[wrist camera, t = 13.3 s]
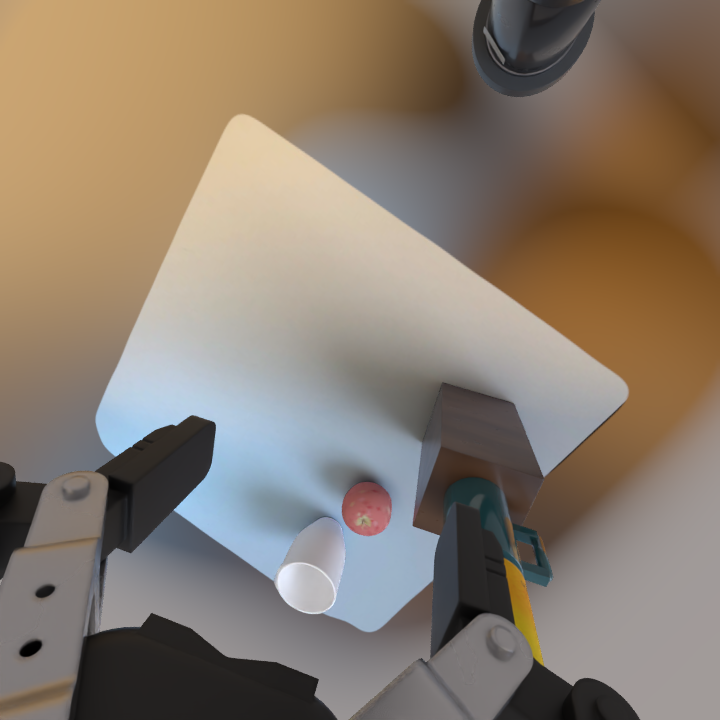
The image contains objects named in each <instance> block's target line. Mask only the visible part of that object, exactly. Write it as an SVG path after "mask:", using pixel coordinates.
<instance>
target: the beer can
mask: <svg viewBox="0 0 720 720" xmlns="http://www.w3.org/2000/svg"><path fill="white" fill-rule="evenodd" d="M504 565H505V568H506V574H507V575H506V578H507V579H508V585H509V591H510V597H511V603H512V609H513V615H514V620H515V626H516V627H517V628H518V629H519V630H520V631H521V632H522V634H523V635H524V636H525V638H526V639H527V641H528V643H529V645H530V647H531V650H532V654H533V657H534V658H535V659H536V660H537V661H538V662H539V663H540V664H541V665H543V666H544V663H543V658H542V654H541V650H540V645H539V641H538V636H537V632H536V628H535V623H534V619H533V614H532V610H531V605H530V601H529V597H528V592H527V588H526V584H525V579H524V577H523V575H522V573H521V572H520V570H519V569H518V568H517V567H516V566H515V565H514V564H513V563H512V562H510V561H509V560H507V559H505V558H504Z"/></svg>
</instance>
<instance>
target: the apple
mask: <svg viewBox="0 0 720 720" xmlns="http://www.w3.org/2000/svg"><path fill="white" fill-rule="evenodd" d="M391 510H392V504H391V498H390V495H389V494H388V492H387V491H386V490H385V489H384V488H383V487H382V486H380V485H378V484H376V483H373V482H361V483H358V484H356V485H354V486H353V487H352V488H351V489H350V490H349V491H348V493H347V494H346V495H345V497H344V500H343V504H342V516H343V519H344V521H345V523H346V525H347V526H348V527H349V528H350V529H351V530H352V531H354V532H355V533H357V534H360V535H364V536H372V535H376V534H378V533H380V532H382V531H383V530H384V529H385V528H386V527H387V525H388V524H389V521H390V518H391Z"/></svg>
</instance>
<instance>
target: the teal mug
mask: <svg viewBox="0 0 720 720" xmlns="http://www.w3.org/2000/svg"><path fill="white" fill-rule="evenodd" d="M454 502H458V503H461V504H464V505H467V506H470V507H473V508H476V509H479V511H480V520H481V528H483V529H486V530H489V531H492V532H493V533H494V535H495V536H496V538H497V540H498V541H499V543H500V545H501V546H502V550H503V556H504V558H505V559H507V560H509V561H510V562H512V563H513V564H514V565H515V566H516V567H517V568H518V569H519V570H520V572H521V573H522V575H523V577H524V579H525V580H527V581H530V582H533V583H536V584H539V585H542V586H544V587H546V586H547V585H548V583H549V582H550V581H552V580H553V574H552V570H551V567H550V564H549V561H548V558H547V555H546V551H545V548H544V545H543V542H542V539H541V537H540V536H538V535H537V532H536V531H535V530H532V529H529V528H526V527H523V526H520V525H517V524H514V523H512V520H511V515H510V511H509V507H508V502H507V499H506V496H505V494H504V493H503V491H502V490H501V489H500V488H499V487H498V486H497V485H496V484H494V483H493V482H491V481H489V480H486V479H483V478H478V477H468V478H463V479H460V480H458V481H456V482H454V483H453V484H452V485H451V486H450V487H449V488H448V489H447V490H446V492H445V494H444V498H443V527H444V525H445V522H446V519H447V517H448V514H449V512H450V509H451V506H452V504H453V503H454ZM516 540H518V541H521V542H524V543H527V544H530V545H532V548H533V552H534V555H535V559H536V563H537V565H534V564H531V563H528V562H525V561H522V560H521V559H520V555H519V551H518V546H517V542H516Z"/></svg>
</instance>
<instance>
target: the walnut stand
mask: <svg viewBox="0 0 720 720" xmlns="http://www.w3.org/2000/svg"><path fill="white" fill-rule="evenodd" d="M468 477H478V478H483V479H486V480H489V481H491V482H493V483H494V484H496V485H497V486H498V487H499V488H500V489H501V490H502V491H503V493H504V494H505V496H506V499H507V502H508V507H509V511H510V515H511V520H512V523H514V524H517V525H520V526H522V525H523V523H524V521H525V519H526V517H527V514H528V512H529V510H530V508H531V506H532V504H533V502H534V500H535V498H536V496H537V493H538V491H539V489H540V487H541V485H542V483H543V481H544V477H543V475H542V472H541V470H540V467H539V465H538V462H537V460H536V457H535V455H534V452H533V450H532V447H531V445H530V442H529V440H528V437H527V435H526V432H525V430H524V427H523V425H522V422H521V420H520V417H519V415H518V412H517V410H516V407H515V405H514V404H513V403H510V402H507V401H503V400H500V399H497V398H493V397H490V396H486V395H483V394H480V393H476V392H473V391H470V390H466V389H463V388H460V387H456V386H453V385H450V384H446V383H442V385H441V388H440V391H439V394H438V397H437V400H436V403H435V406H434V409H433V412H432V415H431V418H430V421H429V424H428V427H427V430H426V433H425V436H424V439H423V442H422V449H421V458H420V466H419V475H418V483H417V492H416V501H415V509H414V518H413V526H414V527H417V528H420V529H423V530H426V531H428V532H431V533H434V534H437V535H441V532H442V530H443V498H444V494H445V492H446V490H447V489H448V488H449V487H450V486H451V485H452V484H453V483H454V482H456V481H458V480H460V479H463V478H468Z"/></svg>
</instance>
